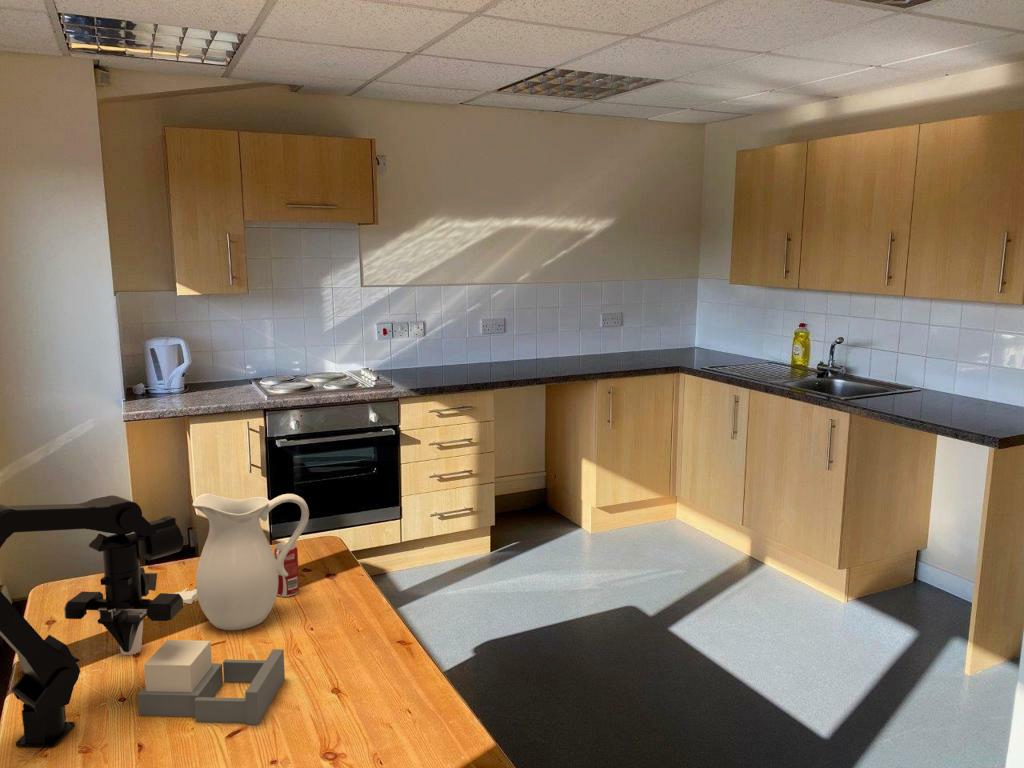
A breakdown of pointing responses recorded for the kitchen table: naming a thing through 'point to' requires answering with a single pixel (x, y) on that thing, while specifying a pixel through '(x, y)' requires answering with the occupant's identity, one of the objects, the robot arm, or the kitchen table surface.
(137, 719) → the kitchen table surface
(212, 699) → the stand
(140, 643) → the smoothie
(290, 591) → the soda can
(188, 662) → the carton
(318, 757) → the kitchen table surface
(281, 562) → the pitcher
